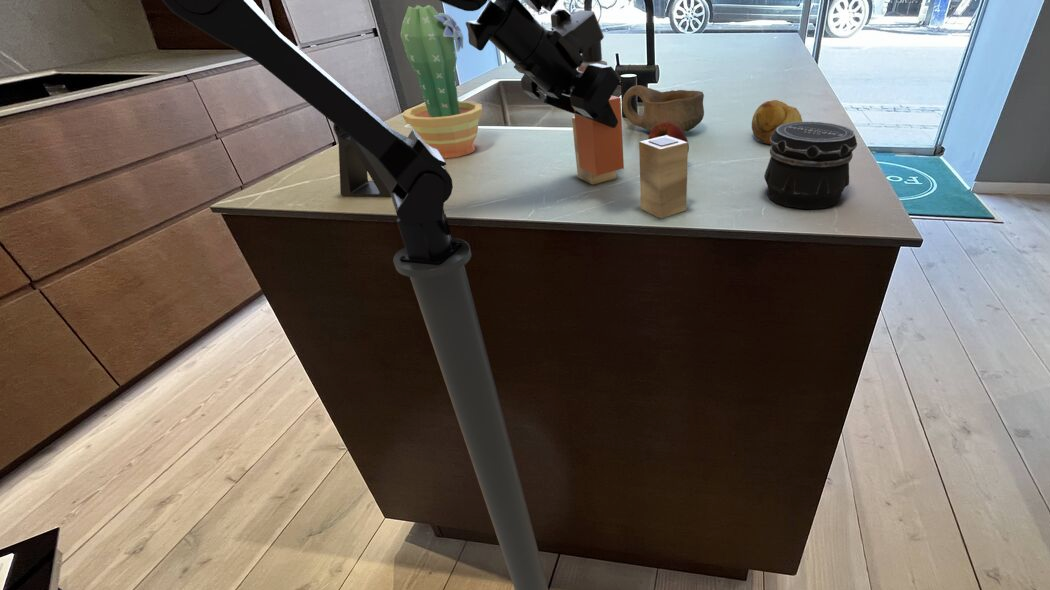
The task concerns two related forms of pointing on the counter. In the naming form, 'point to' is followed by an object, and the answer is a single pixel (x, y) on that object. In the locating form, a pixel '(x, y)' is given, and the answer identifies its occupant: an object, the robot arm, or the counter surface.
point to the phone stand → (360, 169)
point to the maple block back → (585, 174)
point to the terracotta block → (600, 142)
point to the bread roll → (772, 118)
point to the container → (809, 164)
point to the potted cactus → (438, 83)
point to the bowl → (665, 107)
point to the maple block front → (663, 175)
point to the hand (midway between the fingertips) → (606, 121)
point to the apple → (668, 131)
